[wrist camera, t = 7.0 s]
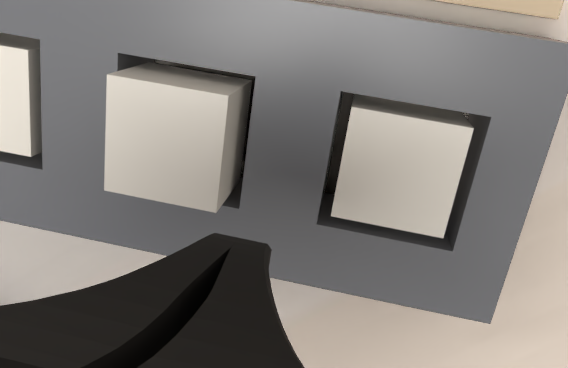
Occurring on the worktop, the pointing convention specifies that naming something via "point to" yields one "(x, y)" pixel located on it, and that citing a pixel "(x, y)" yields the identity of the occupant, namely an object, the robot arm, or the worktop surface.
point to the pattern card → (517, 6)
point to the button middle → (175, 134)
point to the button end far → (20, 95)
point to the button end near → (401, 165)
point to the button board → (296, 136)
